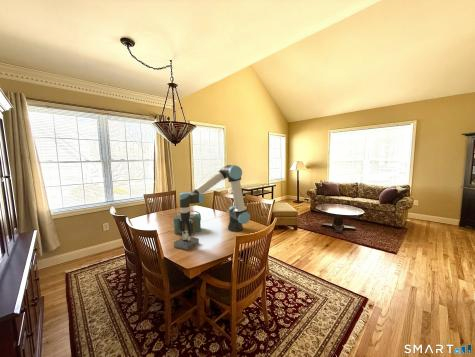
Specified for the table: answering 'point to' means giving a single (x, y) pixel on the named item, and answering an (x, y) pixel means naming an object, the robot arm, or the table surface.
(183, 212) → the robot arm
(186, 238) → the chuck key
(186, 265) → the table surface
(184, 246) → the chuck block
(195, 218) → the radio
